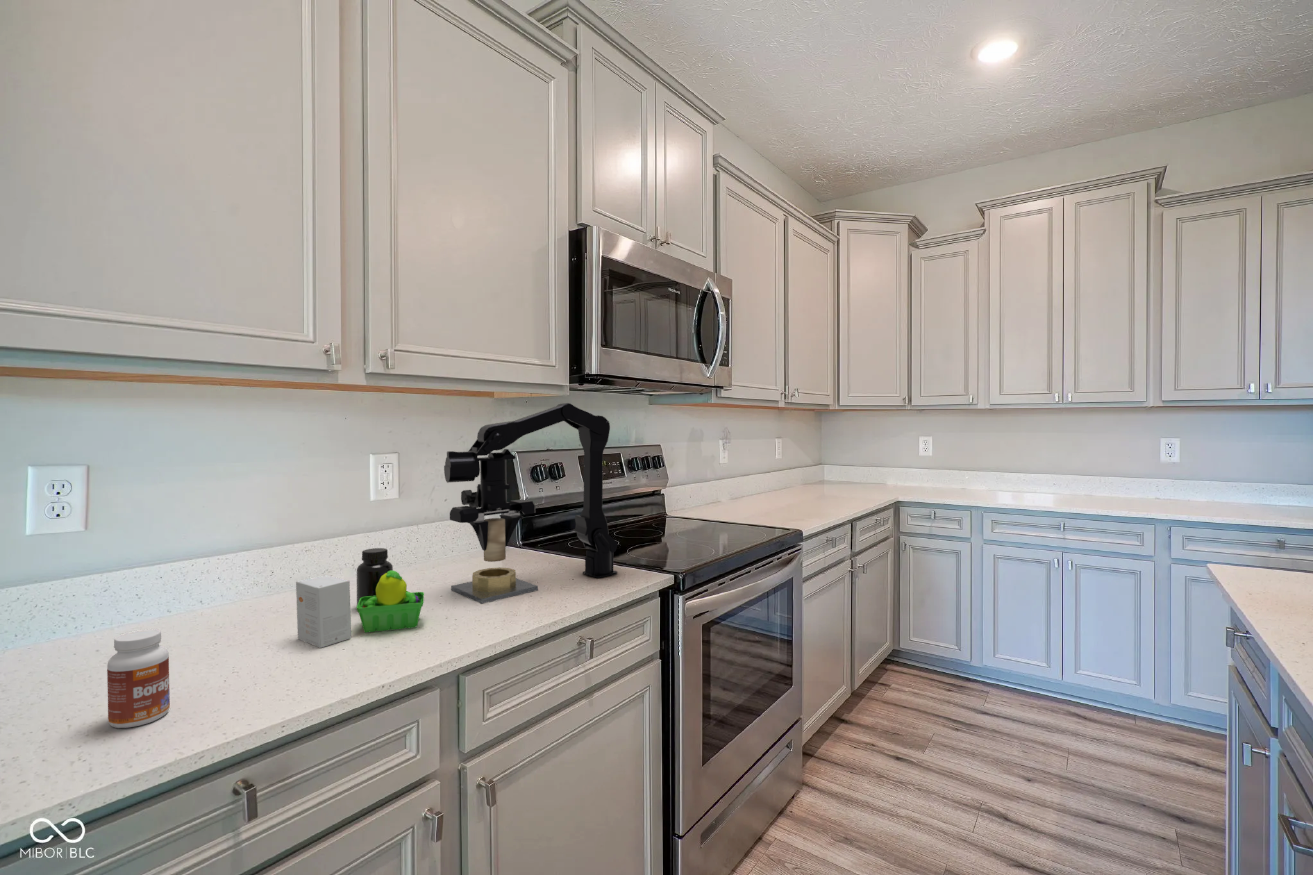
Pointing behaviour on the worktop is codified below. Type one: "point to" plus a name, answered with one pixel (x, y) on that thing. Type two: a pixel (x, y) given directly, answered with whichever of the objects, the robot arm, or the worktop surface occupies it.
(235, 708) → the worktop surface
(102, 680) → the worktop surface
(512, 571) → the ring collar
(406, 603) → the fruit basket
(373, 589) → the supplement bottle
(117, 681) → the pill bottle
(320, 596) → the small box
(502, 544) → the piston
